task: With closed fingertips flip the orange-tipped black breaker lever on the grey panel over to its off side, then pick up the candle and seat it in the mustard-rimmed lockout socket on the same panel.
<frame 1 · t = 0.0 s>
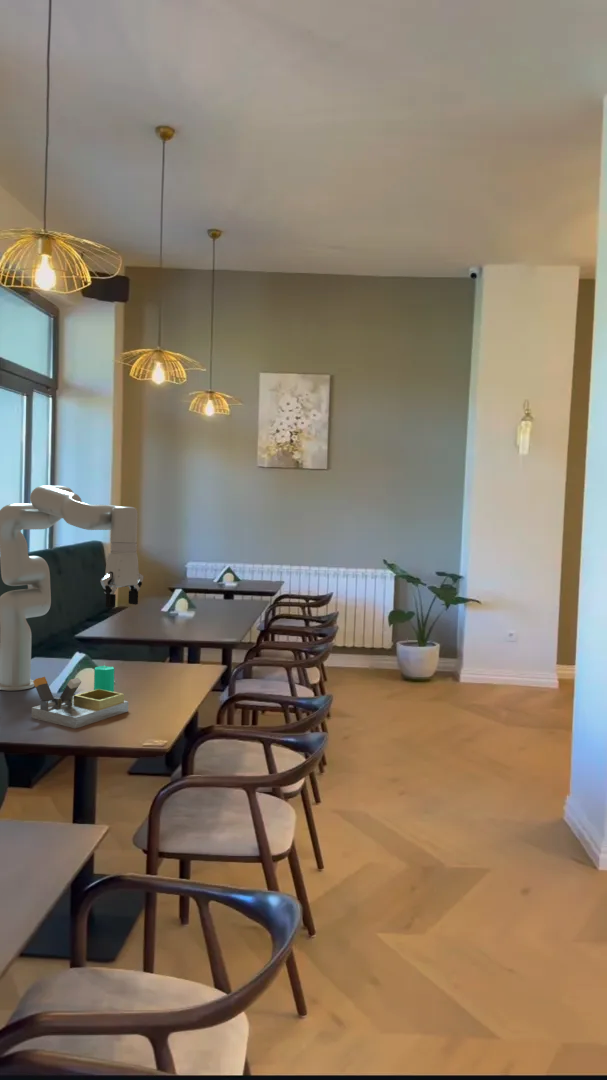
hand: (122, 605, 226), 31 cm above the table, fingers open, 9 cm apart
panel: (80, 714, 221), on the table
breaker A: (44, 692, 216), point 7 cm above the table, hinge at -35.0°
breaker B: (69, 691, 219), point 7 cm above the table, hinge at 35.0°
candle: (103, 701, 236), on the table
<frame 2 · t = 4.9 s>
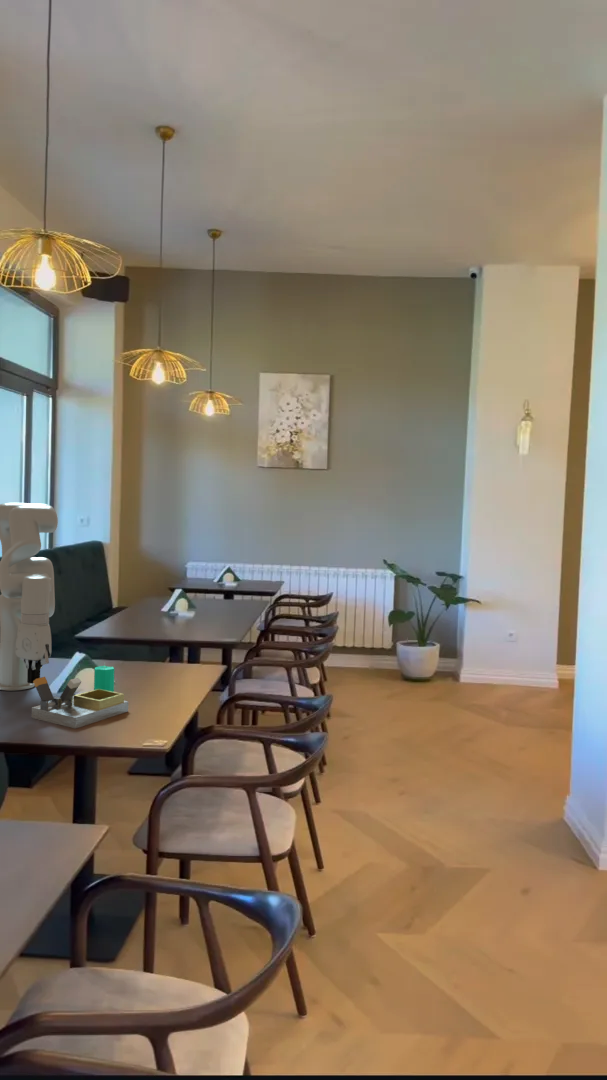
hand: (33, 682, 218), 9 cm above the table, fingers closed
breaker A: (44, 692, 216), point 7 cm above the table, hinge at -34.2°, touching gripper
everything else where it was.
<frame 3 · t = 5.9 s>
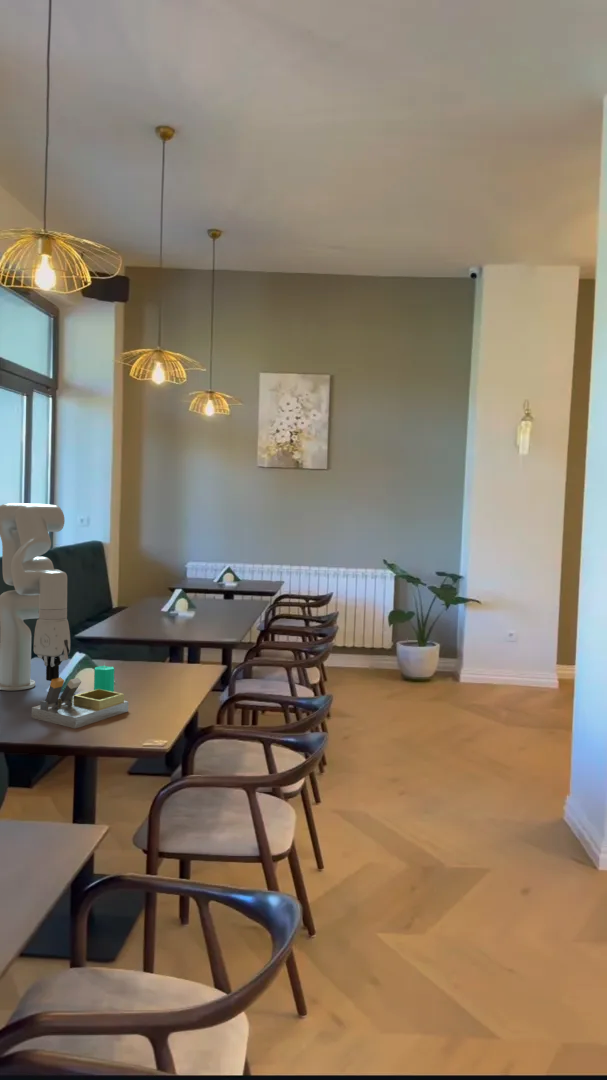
hand: (52, 679, 215), 11 cm above the table, fingers closed
breaker A: (53, 693, 215), point 7 cm above the table, hinge at 20.9°, touching gripper
everything else where it was.
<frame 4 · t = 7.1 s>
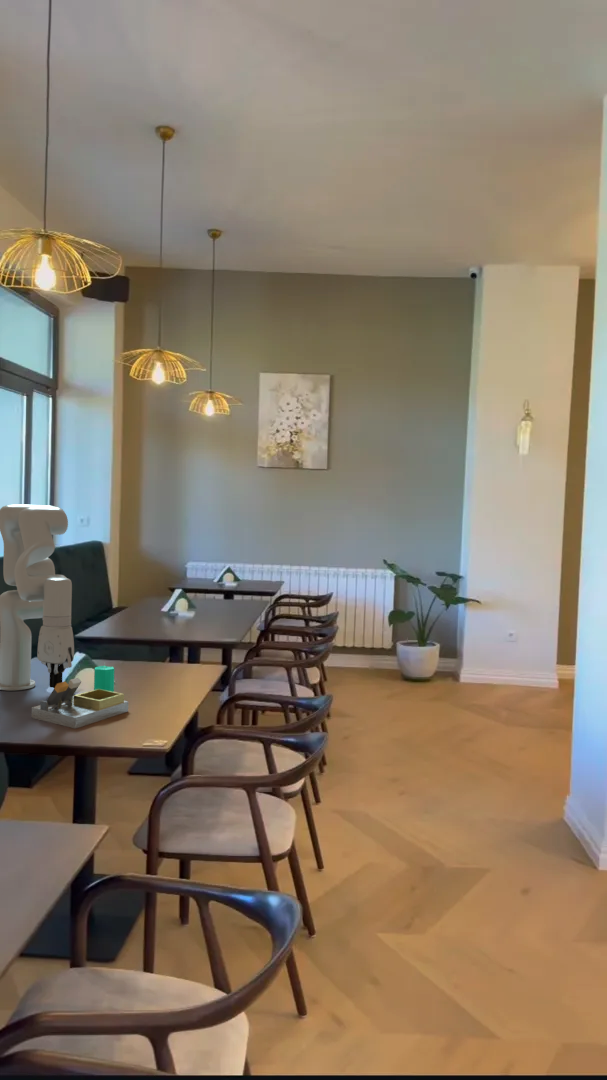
hand: (55, 686, 214), 10 cm above the table, fingers closed
breaker A: (56, 695, 214), point 7 cm above the table, hinge at 36.6°, touching gripper
everything else where it was.
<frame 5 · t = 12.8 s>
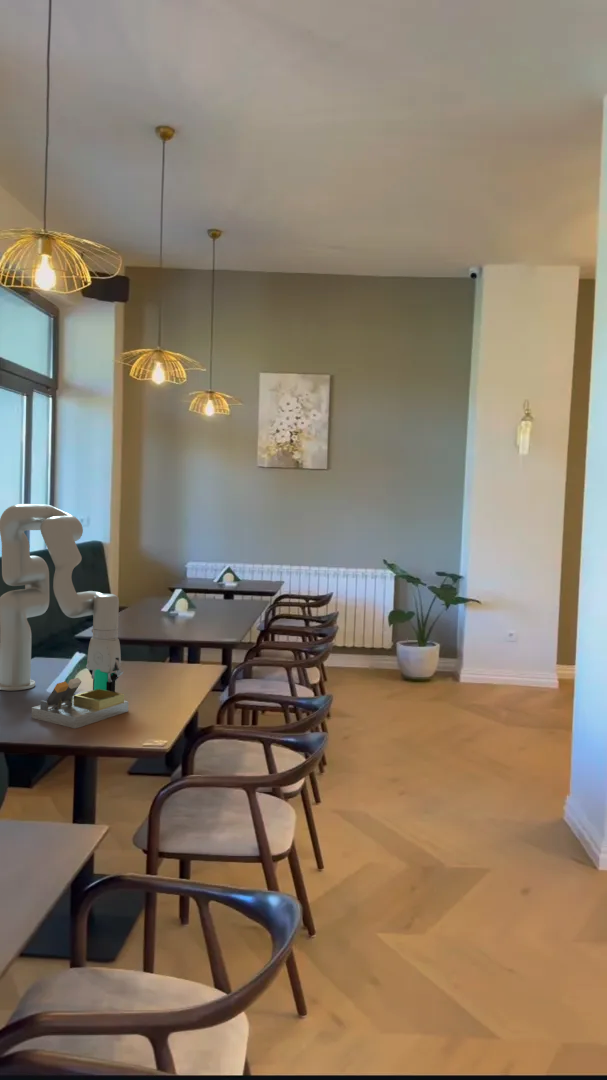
hand: (103, 691, 236), 3 cm above the table, fingers closed on candle, 4 cm apart
breaker A: (56, 695, 214), point 7 cm above the table, hinge at 36.6°
candle: (103, 701, 236), on the table, touching gripper
everything else where it was.
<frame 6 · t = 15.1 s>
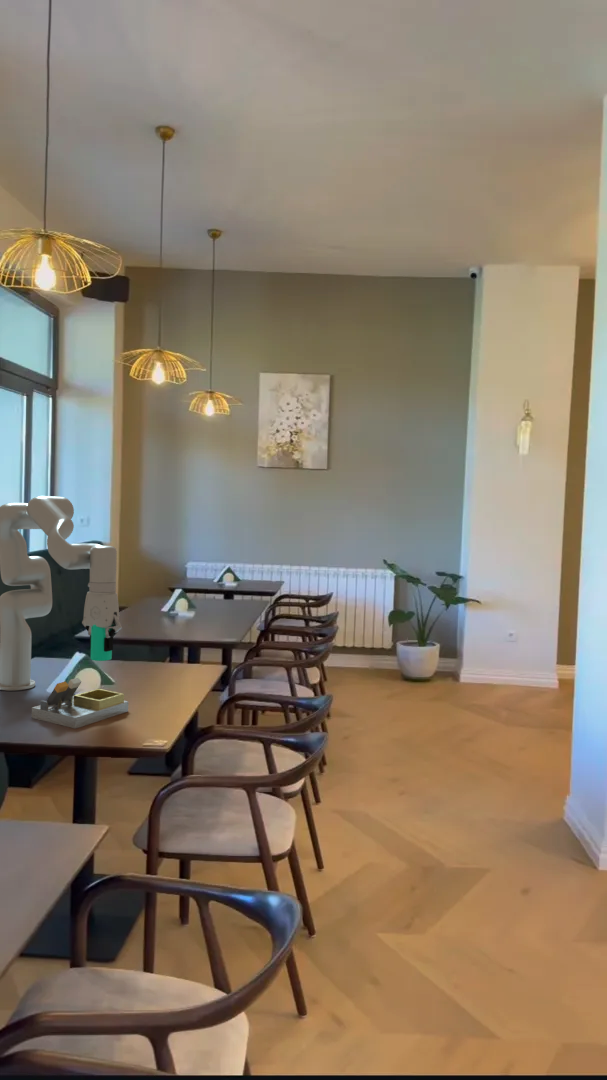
hand: (101, 649, 224), 19 cm above the table, fingers closed on candle, 4 cm apart
candle: (101, 659, 224), point 16 cm above the table, touching gripper
everything else where it was.
when the fingers open (7 cm above the table, at t = 17.7 s): candle drops 1 cm, resting on panel.
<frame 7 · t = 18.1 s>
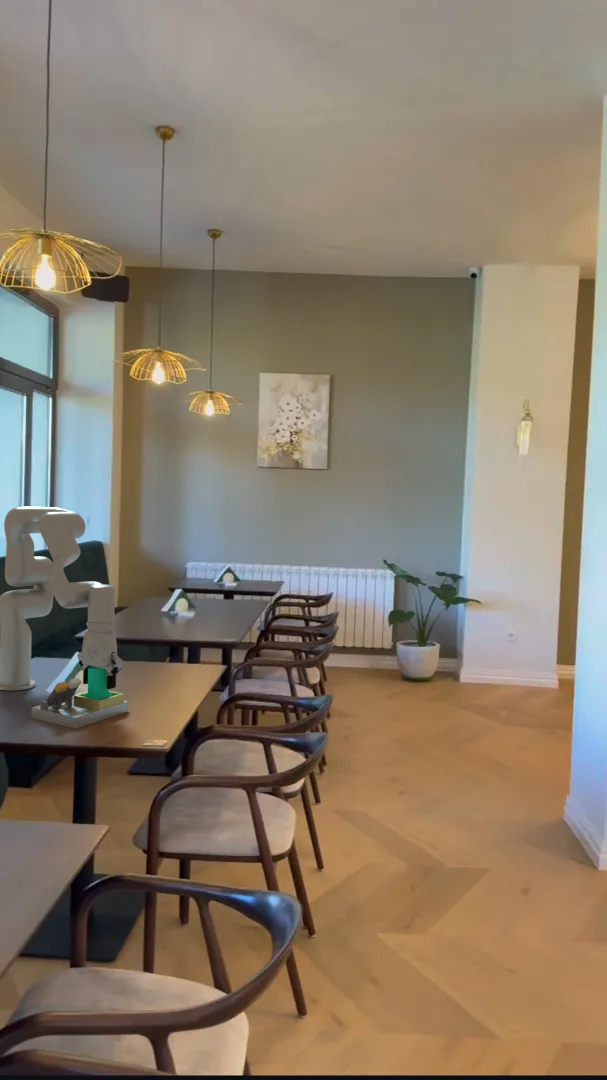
hand: (99, 685, 222), 8 cm above the table, fingers open, 8 cm apart
candle: (98, 703, 223), point 3 cm above the table, touching panel
everything else where it was.
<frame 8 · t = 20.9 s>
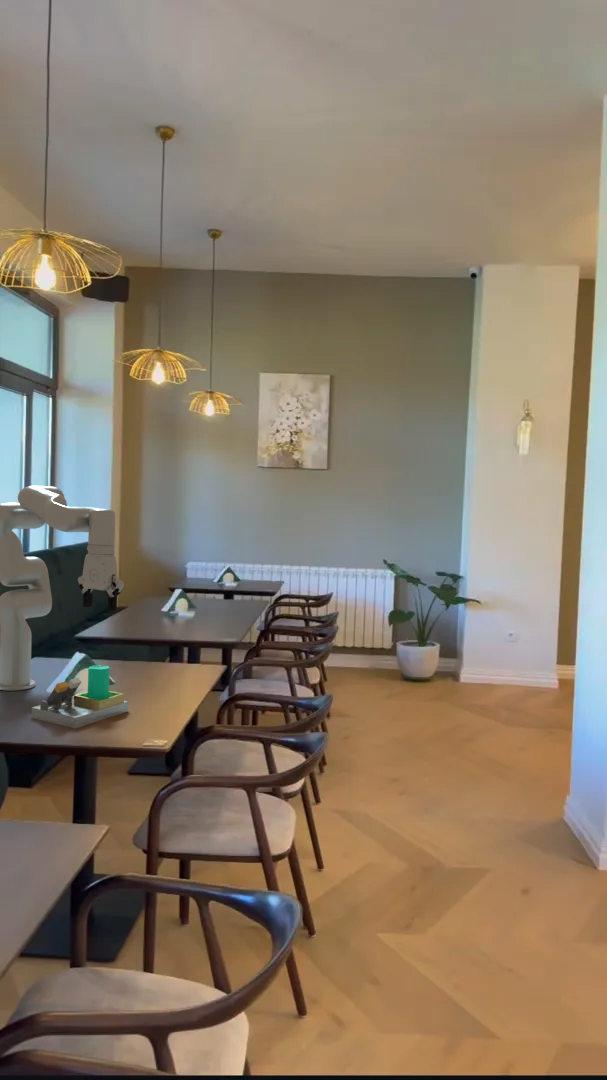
hand: (99, 608, 225), 30 cm above the table, fingers open, 9 cm apart
nothing on the table moved.
at the end: breaker A at +37° (first picture: -35°); candle inside the target area (0.3 cm from its centre), point 2.9 cm above the table; candle tilted 0° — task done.
